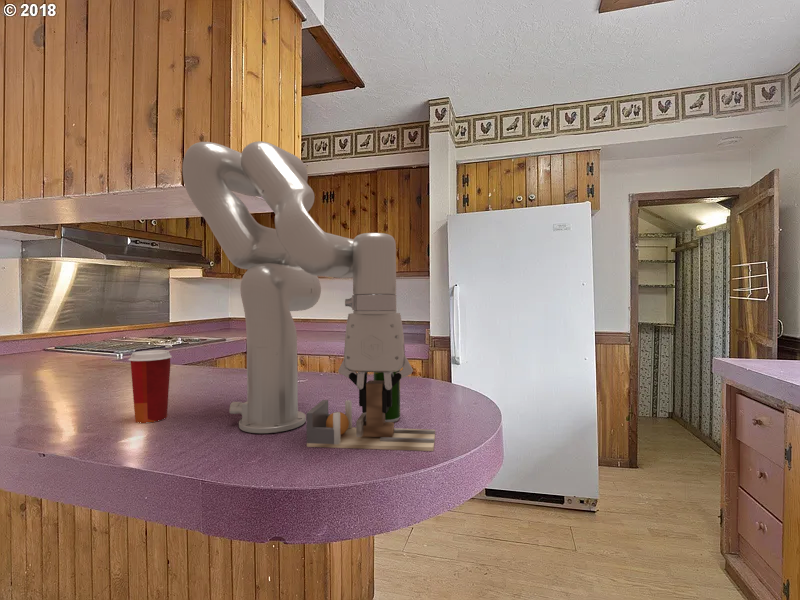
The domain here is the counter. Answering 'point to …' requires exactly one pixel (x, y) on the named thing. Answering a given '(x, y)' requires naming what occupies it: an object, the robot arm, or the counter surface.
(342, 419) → the ball
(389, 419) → the beer can
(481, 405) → the counter surface
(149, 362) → the paper cup
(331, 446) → the board
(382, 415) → the kicker
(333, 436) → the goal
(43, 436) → the counter surface
